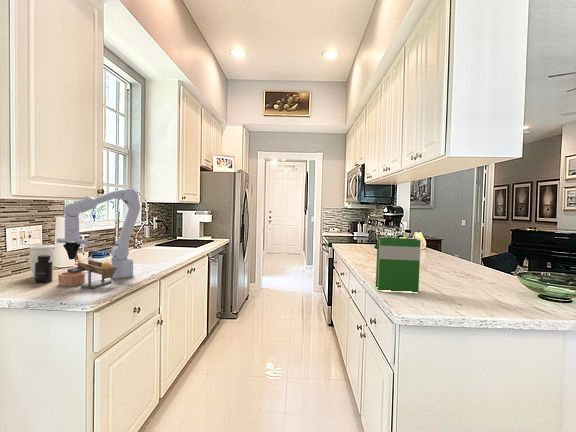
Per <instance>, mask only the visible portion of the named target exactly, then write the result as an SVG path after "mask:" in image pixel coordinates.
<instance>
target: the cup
mask: <svg viewBox="0 0 576 432" xmlns="http://www.w3.org/2000/svg"><path fill="white" fill-rule="evenodd" d="M57 276H58V277H57V278H58V279H57V280H58V283H57V284H58V286H60V287H61V286H62V287H75V286H79V285H80V286H81V285H84V284H85V283H86V272H84V271H81V272H78V273H74V274H73V273H70V272H67V271H66V272H65V271H64V272H60V273H59V274H58V275H57Z"/></svg>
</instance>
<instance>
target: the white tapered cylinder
mask: <svg viewBox="0 0 576 432" xmlns="http://www.w3.org/2000/svg"><path fill="white" fill-rule="evenodd" d="M55 247H56V246H55V245H54V244H34V245H33V244H32V245H29V249H30V251H29V254H28V262H29V267H30V268H29V269H30V270H31V273H32V274H31V277H32V278H35V263H36V262H37V261H38V260H37V259H38V256H39V255H50V261H51V262H52V263H53V268H54V266H55V260H56V254H55V249H54V248H55Z"/></svg>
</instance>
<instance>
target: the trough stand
mask: <svg viewBox="0 0 576 432" xmlns="http://www.w3.org/2000/svg"><path fill="white" fill-rule="evenodd" d="M102 277H103V275H101V279H98V280H95V281H92V272H91V270H88V271H87V280H88V281H87V282H88V283H86V284H85V283H84V284H80V289H89V290H90V289H91V290H93V289H94V290H95V289H97V288H100V287H102V286H106V285H108V284H112V280H109V279H104V278H102Z"/></svg>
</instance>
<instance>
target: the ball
mask: <svg viewBox="0 0 576 432" xmlns="http://www.w3.org/2000/svg"><path fill="white" fill-rule="evenodd" d="M102 263H103V264H102V266H101V268H104V269H107V268H111V265H112V263H110V262H109V261H106V262H102Z"/></svg>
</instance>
